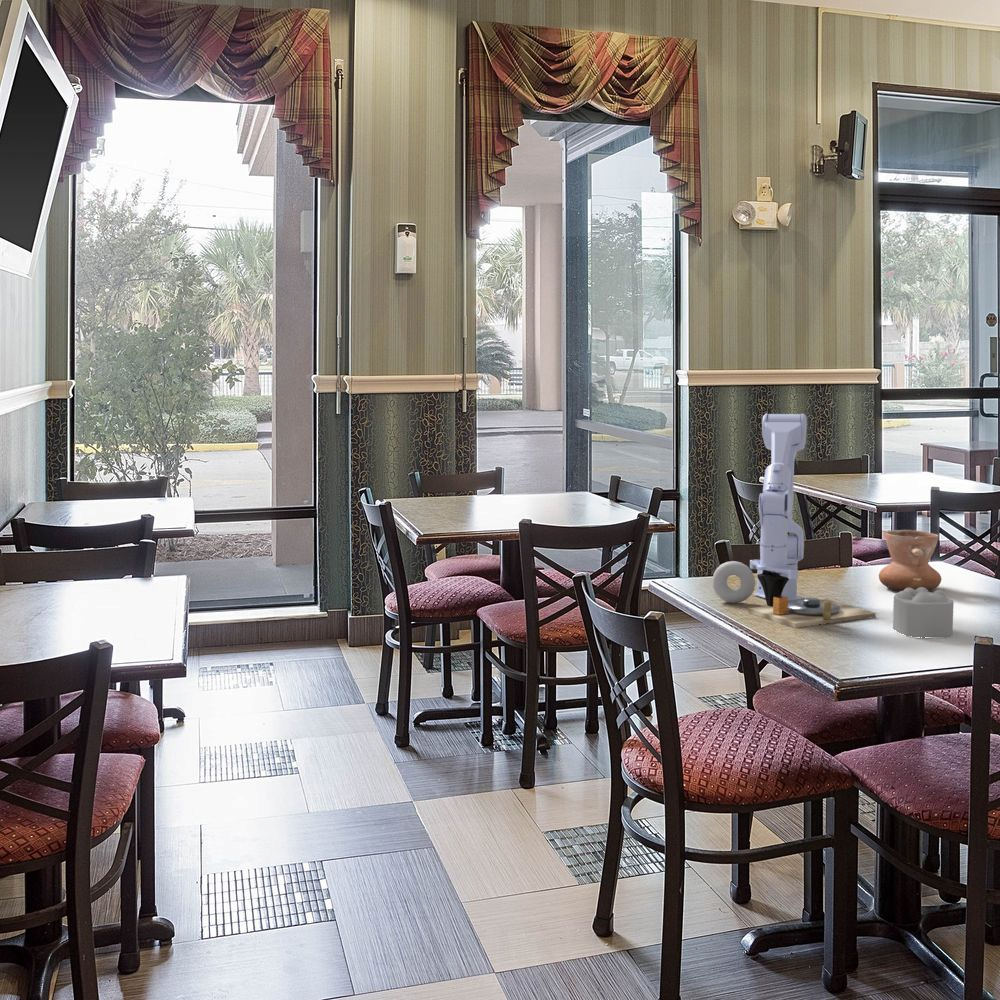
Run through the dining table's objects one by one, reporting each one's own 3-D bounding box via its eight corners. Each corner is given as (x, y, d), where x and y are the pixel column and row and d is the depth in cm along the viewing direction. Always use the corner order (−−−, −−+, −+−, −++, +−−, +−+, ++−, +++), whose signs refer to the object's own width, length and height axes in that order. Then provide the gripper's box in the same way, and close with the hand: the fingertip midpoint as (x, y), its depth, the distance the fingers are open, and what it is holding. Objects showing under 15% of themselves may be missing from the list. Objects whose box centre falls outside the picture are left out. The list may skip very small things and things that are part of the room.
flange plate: (759, 608, 240) (759, 592, 240) (815, 601, 247) (815, 586, 246) (793, 619, 229) (794, 602, 229) (851, 612, 236) (851, 595, 235)
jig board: (748, 612, 242) (749, 591, 241) (826, 603, 251) (826, 583, 250) (797, 628, 226) (797, 606, 226) (878, 618, 235) (879, 596, 235)
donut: (755, 602, 252) (756, 560, 251) (753, 605, 249) (754, 563, 248) (713, 600, 256) (713, 558, 254) (710, 603, 252) (711, 561, 251)
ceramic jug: (948, 597, 255) (951, 538, 254) (884, 595, 258) (886, 536, 256) (931, 584, 273) (934, 528, 272) (872, 582, 276) (874, 527, 274)
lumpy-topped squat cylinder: (908, 639, 217) (910, 597, 216) (882, 624, 230) (883, 584, 229) (958, 637, 218) (960, 596, 217) (930, 622, 231) (931, 583, 230)
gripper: (739, 541, 241) (738, 601, 243) (779, 551, 228) (778, 614, 230) (764, 539, 244) (763, 598, 246) (806, 549, 231) (805, 610, 232)
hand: (772, 605), depth 238 cm, fingers closed
